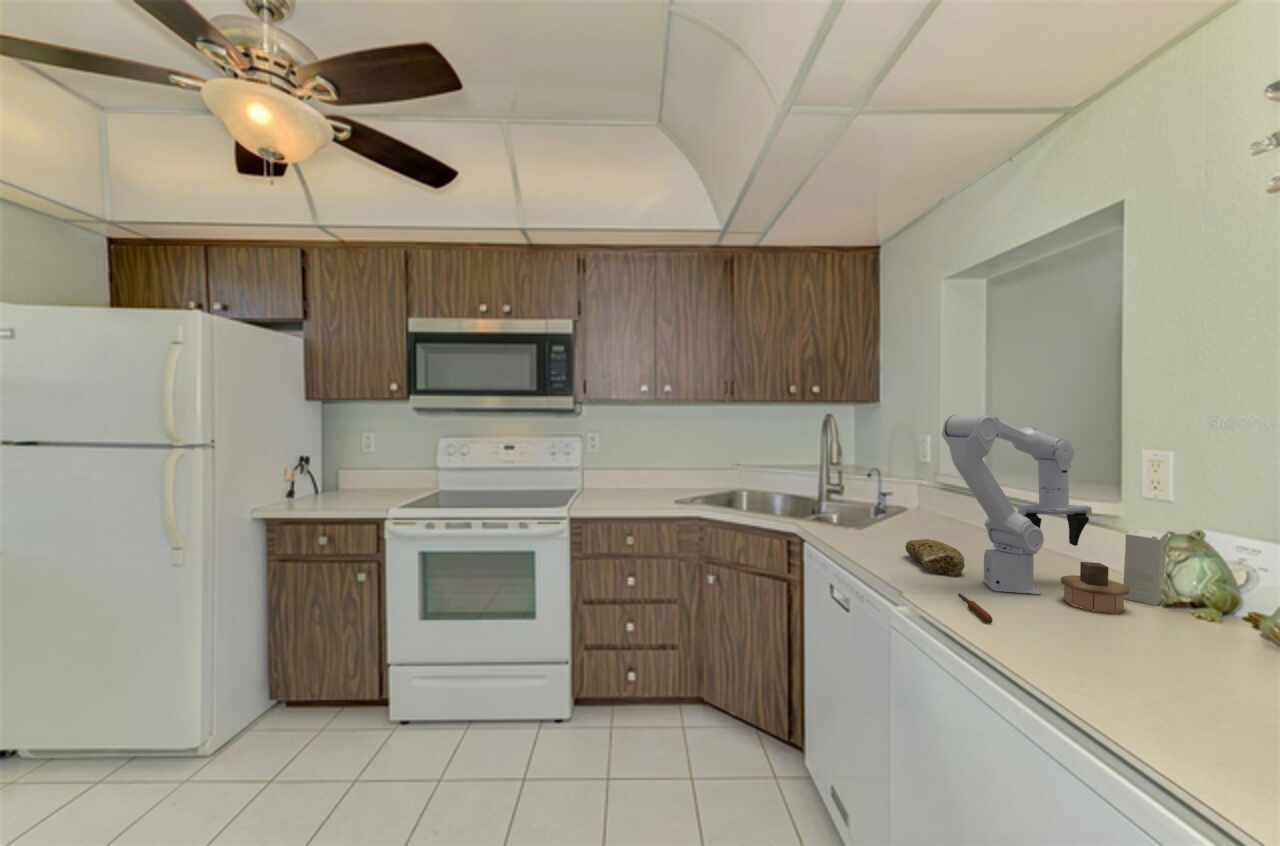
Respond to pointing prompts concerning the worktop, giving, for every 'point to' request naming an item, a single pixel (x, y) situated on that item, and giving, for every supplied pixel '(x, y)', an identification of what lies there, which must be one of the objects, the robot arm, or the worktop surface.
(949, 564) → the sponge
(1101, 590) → the lid
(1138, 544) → the skincare box
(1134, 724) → the worktop surface
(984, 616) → the red handled screwdriver
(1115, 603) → the bowl
